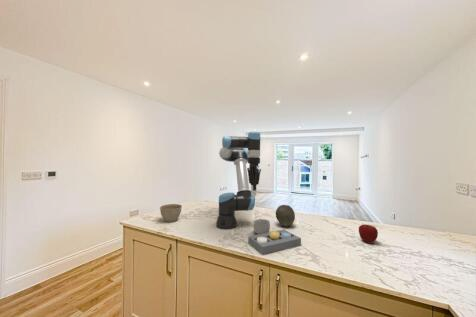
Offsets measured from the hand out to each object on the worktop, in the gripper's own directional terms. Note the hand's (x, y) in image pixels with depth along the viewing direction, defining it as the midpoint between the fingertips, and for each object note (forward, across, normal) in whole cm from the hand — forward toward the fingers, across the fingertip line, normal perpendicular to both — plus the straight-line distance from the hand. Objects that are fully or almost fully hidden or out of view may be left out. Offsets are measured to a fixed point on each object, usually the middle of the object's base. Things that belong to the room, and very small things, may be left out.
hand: (253, 195), depth 119 cm
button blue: (+26, +12, +16) cm, 32 cm away
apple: (+27, +33, +60) cm, 73 cm away
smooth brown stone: (+27, -10, +33) cm, 44 cm away
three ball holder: (+26, +12, +7) cm, 30 cm away
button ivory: (+26, +12, -2) cm, 28 cm away
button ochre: (+24, +12, +7) cm, 28 cm away
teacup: (+27, -6, +10) cm, 29 cm away
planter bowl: (+27, -57, -41) cm, 75 cm away
